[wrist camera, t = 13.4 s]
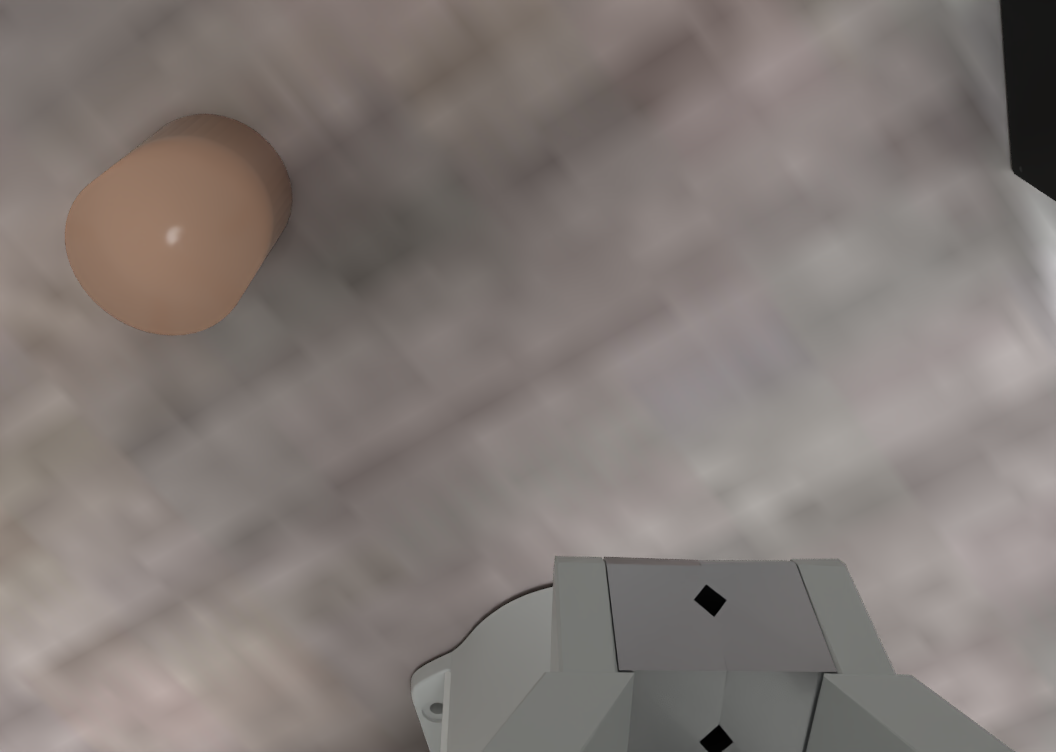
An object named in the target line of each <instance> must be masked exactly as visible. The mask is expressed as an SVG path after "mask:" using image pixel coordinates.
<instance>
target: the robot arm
mask: <svg viewBox="0 0 1056 752" xmlns="http://www.w3.org/2000/svg"><path fill="white" fill-rule="evenodd" d="M411 697H412V701H413V704H414V707H415V710H416V713H417V716H418V719H419V721H420V724H421V727H422V730H423V733H424V736H425V739H426V742H427V745H428V748H429V751H430V752H1015V751H1013V750H1012V749H1011V748H1009V747H1008V746H1007V745H1005V744H1004V743H1003V742H1001V741H1000V740H999V739H997V738H996V737H995V736H993V735H992V734H990V733H989V732H988V731H986V730H985V729H984V728H982V727H981V726H980V725H978V724H977V723H976V722H974V721H973V720H972V719H970V718H969V717H967V716H966V715H965V714H963V713H962V712H961V711H959V710H958V709H957V708H955V707H954V706H953V705H951V704H950V703H949V702H947V701H946V700H944V699H943V698H942V697H940V696H939V695H938V694H936V693H935V692H934V691H932V690H931V689H930V688H928V687H927V686H926V685H924V684H923V683H921V682H920V681H919V680H917V679H916V678H915V677H913V676H912V675H896V673H895V670H894V668H893V666H892V664H891V662H890V660H889V657H888V655H887V653H886V651H885V649H884V647H883V644H882V642H881V640H880V638H879V636H878V634H877V631H876V629H875V627H874V625H873V623H872V621H871V618H870V616H869V614H868V612H867V610H866V608H865V605H864V603H863V601H862V599H861V597H860V595H859V592H858V590H857V588H856V586H855V584H854V581H853V579H852V577H851V575H850V573H849V571H848V568H847V566H846V564H844V563H843V562H842V561H841V560H839V559H791V560H790V561H787V560H686V559H655V558H623V557H604V559H602V558H601V557H565V556H555V561H554V572H553V587H550V588H546V589H542V590H539V591H536V592H533V593H530V594H527V595H525V596H522V597H520V598H518V599H515V600H513V601H511V602H510V603H508V604H506V605H504V606H502V607H501V608H499V609H498V610H496V611H495V612H493V613H492V614H491V615H489V616H488V617H487V618H486V619H484V620H483V621H482V622H481V623H480V624H479V625H478V626H477V627H476V628H475V629H474V630H473V632H472V633H471V634H470V635H469V636H468V637H467V638H466V639H465V641H464V642H463V643H462V644H461V645H460V646H459V647H458V648H456V649H455V650H454V651H453V652H451V653H448V654H446V655H444V656H442V657H440V658H438V659H436V660H433V661H431V662H430V663H428V664H426V665H424V666H423V667H421V668H419V669H418V670H417V671H416V672H415V673H414V674H413V676H412V679H411Z"/></svg>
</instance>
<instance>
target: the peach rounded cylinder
mask: <svg viewBox="0 0 1056 752" xmlns="http://www.w3.org/2000/svg"><path fill="white" fill-rule="evenodd" d="M291 207H292V189H291V184H290V179H289V176H288V173H287V170H286V168H285V166H284V164H283V162H282V160H281V158H280V157H279V155H278V154H277V152H276V151H275V150H274V148H273V147H272V146H271V145H270V144H269V143H268V142H267V141H266V140H265V139H264V138H263V137H262V136H261V135H260V134H258V133H257V132H256V131H255V130H253V129H251V128H250V127H248V126H247V125H245V124H243V123H241V122H238V121H236V120H234V119H231V118H228V117H224V116H219V115H213V114H194V115H189V116H185V117H182V118H179V119H176V120H174V121H172V122H170V123H168V124H167V125H165V126H164V127H163V128H161V129H160V130H159V131H157V132H156V133H155V134H153V135H152V136H151V137H150V138H148V139H147V140H146V141H144V142H143V143H142V144H140V145H139V146H138V147H137V148H135V149H134V150H133V151H131V152H130V153H129V154H127V155H126V156H125V157H123V158H122V159H121V160H120V161H118V162H117V163H116V164H114V165H113V166H112V167H110V168H109V169H108V170H107V171H105V172H104V173H103V174H101V175H100V176H99V177H97V178H96V179H95V180H93V181H92V182H91V183H90V184H88V185H87V186H86V187H85V188H84V189H83V190H82V191H81V192H80V193H79V195H78V196H77V198H76V199H75V201H74V202H73V204H72V206H71V208H70V211H69V214H68V217H67V221H66V228H65V245H66V251H67V256H68V259H69V262H70V265H71V268H72V270H73V272H74V274H75V276H76V278H77V280H78V281H79V283H80V285H81V286H82V287H83V289H84V290H85V291H86V293H87V294H88V295H89V296H90V297H91V298H92V299H93V301H94V302H95V303H96V304H97V305H99V306H100V307H101V308H102V309H103V310H104V311H106V312H107V313H108V314H110V315H111V316H113V317H114V318H116V319H117V320H119V321H121V322H123V323H125V324H127V325H129V326H131V327H134V328H136V329H139V330H142V331H146V332H149V333H154V334H160V335H186V334H191V333H196V332H199V331H202V330H205V329H207V328H209V327H211V326H214V325H215V324H217V323H218V322H220V321H221V320H223V319H224V318H225V317H226V316H227V315H228V314H229V313H230V312H231V311H232V310H233V308H234V307H235V306H236V305H237V303H238V301H239V300H240V298H241V297H242V295H243V294H244V292H245V290H246V289H247V287H248V286H249V284H250V282H251V281H252V279H253V278H254V276H255V275H256V273H257V271H258V270H259V268H260V267H261V265H262V264H263V262H264V260H265V259H266V257H267V256H268V254H269V252H270V251H271V249H272V248H273V246H274V245H275V243H276V241H277V240H278V238H279V237H280V235H281V234H282V232H283V230H284V228H285V227H286V225H287V222H288V220H289V217H290V212H291Z"/></svg>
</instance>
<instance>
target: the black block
mask: <svg viewBox="0 0 1056 752" xmlns="http://www.w3.org/2000/svg"><path fill="white" fill-rule="evenodd" d="M1001 4H1002V19H1003V35H1004V50H1005V65H1006V81H1007V96H1008V111H1009V127H1010V142H1011V154H1012V169H1013V172H1014V174H1016V175H1017V176H1019V177H1020V178H1022V179H1023V180H1025V181H1026V182H1028V183H1029V184H1031V185H1032V186H1034V187H1035V188H1037V189H1038V190H1040V191H1041V192H1043V193H1044V194H1046V195H1047V196H1049V197H1050V198H1052V199H1053V200H1055V201H1056V0H1001Z"/></svg>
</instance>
